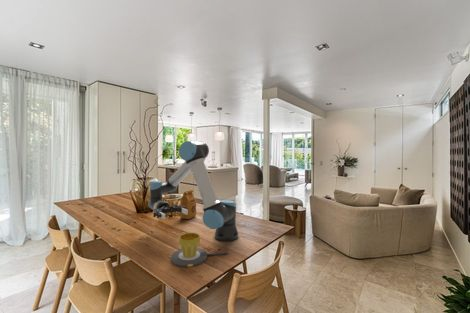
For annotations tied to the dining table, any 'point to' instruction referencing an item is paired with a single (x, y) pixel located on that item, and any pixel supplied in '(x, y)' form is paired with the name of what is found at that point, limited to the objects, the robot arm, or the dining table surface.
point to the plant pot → (189, 244)
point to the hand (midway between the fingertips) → (176, 214)
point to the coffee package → (188, 205)
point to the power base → (191, 258)
